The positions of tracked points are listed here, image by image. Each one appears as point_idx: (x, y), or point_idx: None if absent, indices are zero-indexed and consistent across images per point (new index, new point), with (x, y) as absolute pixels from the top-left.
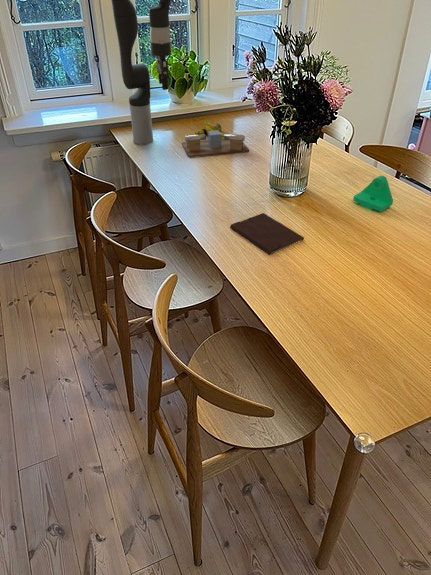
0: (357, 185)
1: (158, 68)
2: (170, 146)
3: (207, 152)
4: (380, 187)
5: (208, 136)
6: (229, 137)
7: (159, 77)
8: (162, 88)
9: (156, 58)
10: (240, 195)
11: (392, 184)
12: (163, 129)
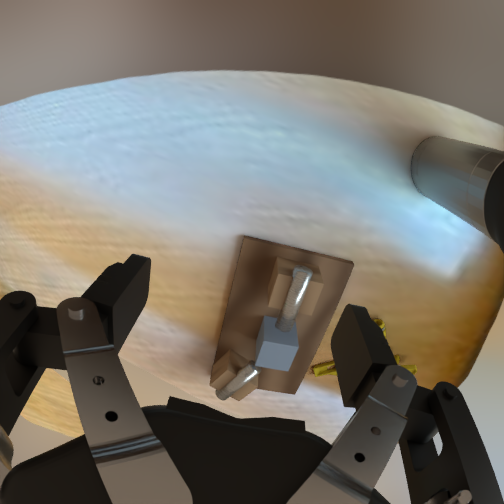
0: (46, 401)
1: (353, 417)
2: (357, 224)
3: (238, 295)
4: None
5: (291, 336)
6: (239, 372)
7: (360, 342)
8: (132, 255)
9: (491, 489)
10: (19, 248)
11: (50, 423)
12: (472, 262)
